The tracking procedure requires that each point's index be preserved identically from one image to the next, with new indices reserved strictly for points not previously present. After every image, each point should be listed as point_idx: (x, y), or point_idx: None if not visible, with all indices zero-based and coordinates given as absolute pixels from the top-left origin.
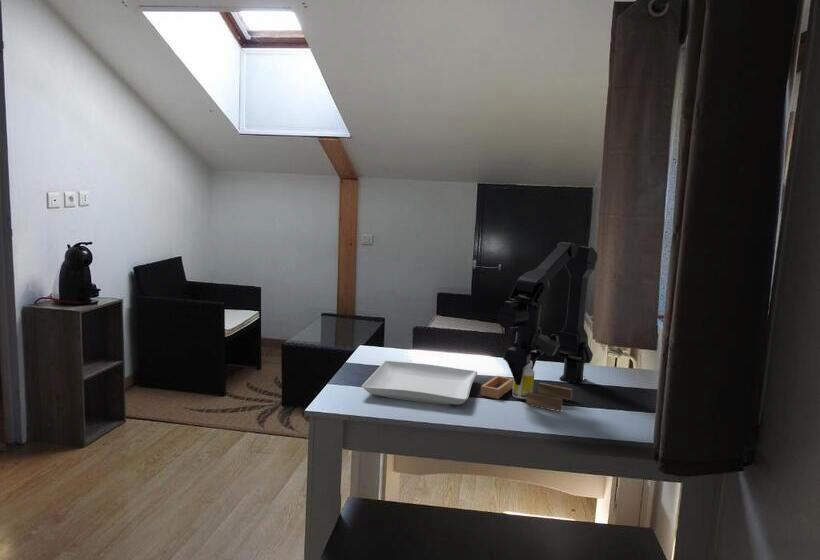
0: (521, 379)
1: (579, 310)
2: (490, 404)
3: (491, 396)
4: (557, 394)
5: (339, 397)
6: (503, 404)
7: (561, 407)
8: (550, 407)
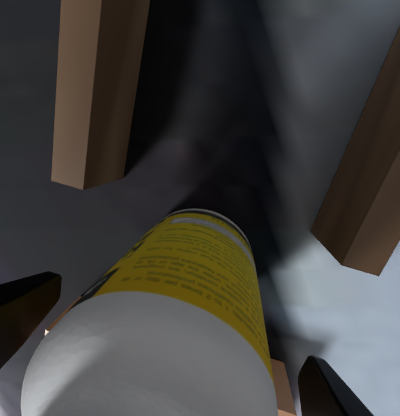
0: (353, 410)
1: None
2: (381, 395)
3: None
4: (132, 38)
5: None
6: (366, 344)
7: None
8: None
